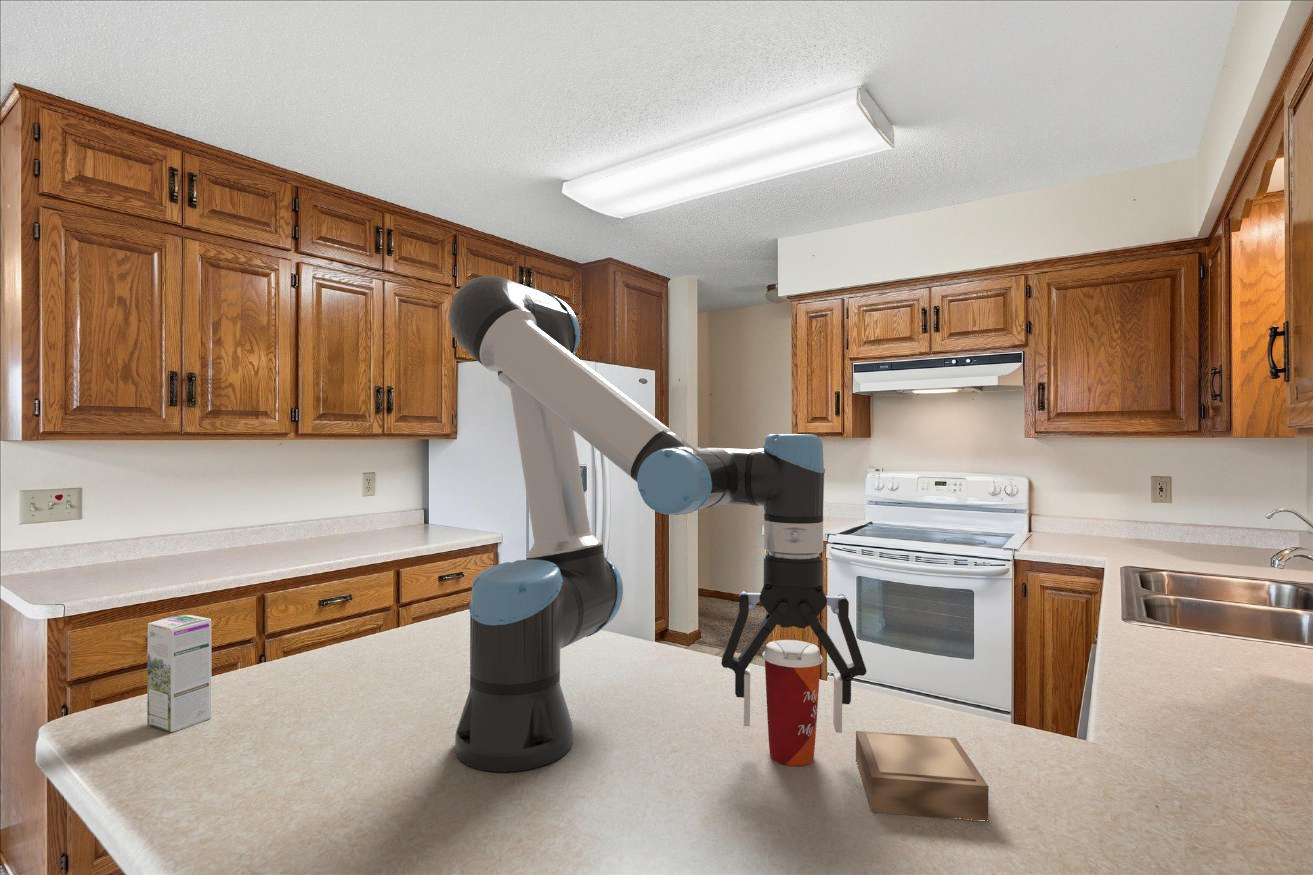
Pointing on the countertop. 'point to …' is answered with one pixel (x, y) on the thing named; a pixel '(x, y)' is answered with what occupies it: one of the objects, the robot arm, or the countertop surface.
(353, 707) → the countertop surface
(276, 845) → the countertop surface
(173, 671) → the syrup box
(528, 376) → the robot arm
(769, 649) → the paper cup
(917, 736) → the plinth
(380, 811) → the countertop surface
